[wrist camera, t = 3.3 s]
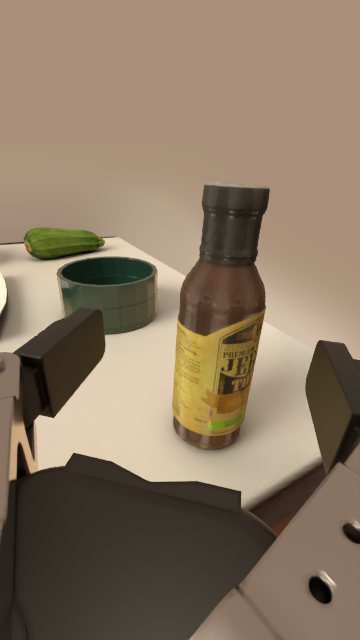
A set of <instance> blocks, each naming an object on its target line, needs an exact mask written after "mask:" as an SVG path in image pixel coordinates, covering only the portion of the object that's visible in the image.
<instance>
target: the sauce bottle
mask: <svg viewBox="0 0 360 640" xmlns="http://www.w3.org/2000/svg"><path fill="white" fill-rule="evenodd" d="M269 192H270V190H269V188H268V187H262V186H251V185H243V184H236V183H227V182H215V183H206V184H205V185H204V190H203V198H202V207H203V211H204V221H203V229H202V243H201V245H200V258H199V260H198V262H197V263H196V265H195V266H194V267H193V268H192V270H191V271H190V273H189V274H188V275H187V277H186V278H185V280H184V282H183V284H182V288H181V293H180V312H179V315H178V323H177V340H176V357H175V373H174V389H173V404H172V408H173V413H174V418H173V422H174V423H173V424H174V428H175V430H176V432H177V434H178V435H179V436H180V437H181V438H182V439H183V440H184V441H185V442H186V443H188V444H190V445H193V446H195V447H197V448H201V449H219V448H221V447H224V446H226V445H228V444H229V443H231V442H233V441H234V440H235V439H236V438H237V436H238V434H239V430H240V425H241V424H242V422H243V419H244V415H245V410H246V405H247V400H248V395H249V390H250V385H251V380H252V376H253V370H254V365H255V360H256V356H257V350H258V345H259V339H260V334H261V329H262V324H263V319H264V314H265V308H266V305H265V289H264V284H263V282H262V280H261V278H260V276H259V273H258V270H257V268H256V266H255V264H254V262H255V261H256V257H257V255H258V250H257V246H258V239H259V233H260V228H261V221H262V216H263V214H264V213H265V211H266V210H267V206H268V200H269Z"/></svg>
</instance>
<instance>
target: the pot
mask: <svg viewBox="0 0 360 640" xmlns="http://www.w3.org/2000/svg"><path fill="white" fill-rule="evenodd" d="M57 280H58V286H59V292H60V298H61V305H62V311H63V314H64V318H66V317H68V316H69V315H71V314H72V313H73V312H75V311H76V310H77V309H78V308H80V307H86V308H94V309H100V310H101V311H102V314H103V322H104V334H117V333H124V332H129V331H133V330H136V329H139V328H141V327H143V326H145V325H147V324H149V323H150V322H151V321H152V320H153V319H154V318H155V316H156V313H157V269H156V267H155V266H154V265H153V264H151V263H149V262H147V261H143V260H140V259H135V258H129V257H95V258H87V259H82V260H77V261H73V262H71V263H68V264H65V265H64V266H62V267H61V268H59V269H58V272H57Z"/></svg>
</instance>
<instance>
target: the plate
mask: <svg viewBox="0 0 360 640" xmlns="http://www.w3.org/2000/svg"><path fill="white" fill-rule="evenodd" d="M6 305H7V288H6V283H5V281H4V279H3V277H2V275H1V273H0V317H1V315H2V313H3V311H4V309H5V307H6Z"/></svg>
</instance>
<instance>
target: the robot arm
mask: <svg viewBox="0 0 360 640" xmlns="http://www.w3.org/2000/svg"><path fill="white" fill-rule="evenodd" d="M104 352H105V334H104V322H103V314H102V311H101V310H100V309H94V308H86V307H80V308H78V309H77V310H76V311H75V312H73V313H72V314H71V315H69V316H68V317H66V318H63V319H61V320H58V321H56V322H54V323H52V324H51V325H50V326H48V327H47V328H46V329H45V330H43V331H42V332H40V333H39V334H38V336H35V337H34V338H32V339H31V340H30V341H28V342H27V343H26V344H24V345H23V346H22V347H20V348H19V349H17V350H16V351H15V352H13V353H7V352H2V353H0V640H360V360H355V359H353V358H352V357H351V355H350V353H349V352H348V349H347V347H346V346H345V344H343V343H338V342H330V341H323V340H319V341H318V343H317V345H316V348H315V351H314V355H313V358H312V361H311V365H310V368H309V372H308V375H307V379H306V396H307V400H308V404H309V408H310V412H311V416H312V420H313V424H314V428H315V432H316V436H317V440H318V444H319V448H320V452H321V456H322V460H323V464H324V468H325V472H326V478H325V479H324V480H323V481H322V483H321V484H320V485H319V486H318V488H317V489H316V490H315V491H314V493H313V494H312V495H311V496H310V498H309V499H308V500H307V501H306V503H305V504H304V505H303V506H302V508H301V509H300V510H299V511H298V513H297V514H296V515H295V516H294V518H293V519H292V520H291V522H290V523H289V524H288V525H287V526H286V528H285V529H284V530H283V532H282V533H281V534H280V535H279V536H278V535H277V534H276V533H275V532H274V531H273V530H272V529H271V528H270V527H269V526H268V525H266V524H265V523H264V522H263V521H262V520H260V519H259V518H258V517H256V516H255V515H253V514H252V513H250V512H249V511H247V510H245V509H243V508H241V491H236V490H232V489H228V488H223V487H219V486H215V485H211V484H206V483H202V482H198V481H187V482H150V481H147V480H145V479H143V478H141V477H139V476H137V475H135V474H134V473H132V472H130V471H128V470H126V469H124V468H122V467H121V466H119V465H117V464H115V463H113V462H111V461H107V460H102V459H98V458H94V457H89V456H85V455H81V454H76V453H73V455H72V456H71V458H70V459H69V461H68V462H67V464H66V466H60V467H53V468H48V469H44V470H40V471H38V459H37V434H36V424H35V419H36V418H37V417H38V416H39V415H42V416H47V417H52V418H54V417H55V416H56V414H57V413H58V412H59V411H60V410H61V408H62V407H63V406H64V405H65V403H66V402H67V401H68V400H69V398H70V397H71V396H72V395H73V394H74V392H75V391H76V390H77V389H78V387H79V386H80V385H81V384H82V383H83V381H84V380H85V379H86V378H87V376H88V375H89V374H90V373H91V371H92V370H93V369H94V368H95V367H96V365H97V364H98V363H99V362H100V360H101V359H102V357H103V355H104Z"/></svg>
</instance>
